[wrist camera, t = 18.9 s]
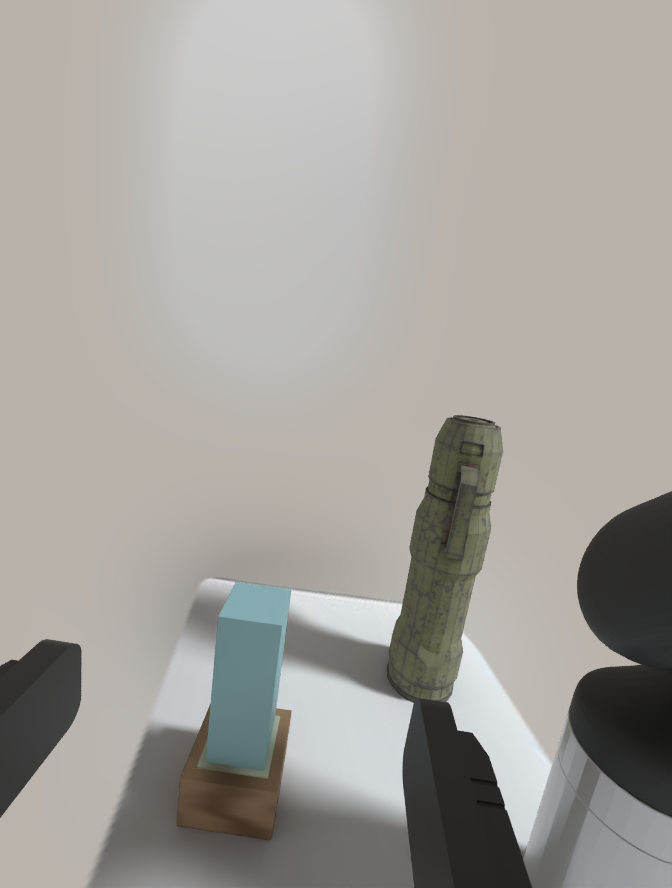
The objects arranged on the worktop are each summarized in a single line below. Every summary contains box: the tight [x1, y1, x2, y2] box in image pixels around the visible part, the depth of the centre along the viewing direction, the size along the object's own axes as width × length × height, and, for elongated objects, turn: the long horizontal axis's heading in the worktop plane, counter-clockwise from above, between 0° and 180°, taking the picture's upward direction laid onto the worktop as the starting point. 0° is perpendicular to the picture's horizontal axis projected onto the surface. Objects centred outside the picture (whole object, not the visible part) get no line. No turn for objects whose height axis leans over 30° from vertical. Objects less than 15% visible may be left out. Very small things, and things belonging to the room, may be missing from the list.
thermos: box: [387, 415, 503, 702], centre depth 51 cm, size 9×12×35 cm
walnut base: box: [177, 704, 291, 840], centre depth 38 cm, size 8×8×5 cm
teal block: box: [206, 582, 291, 770], centre depth 36 cm, size 5×5×14 cm
